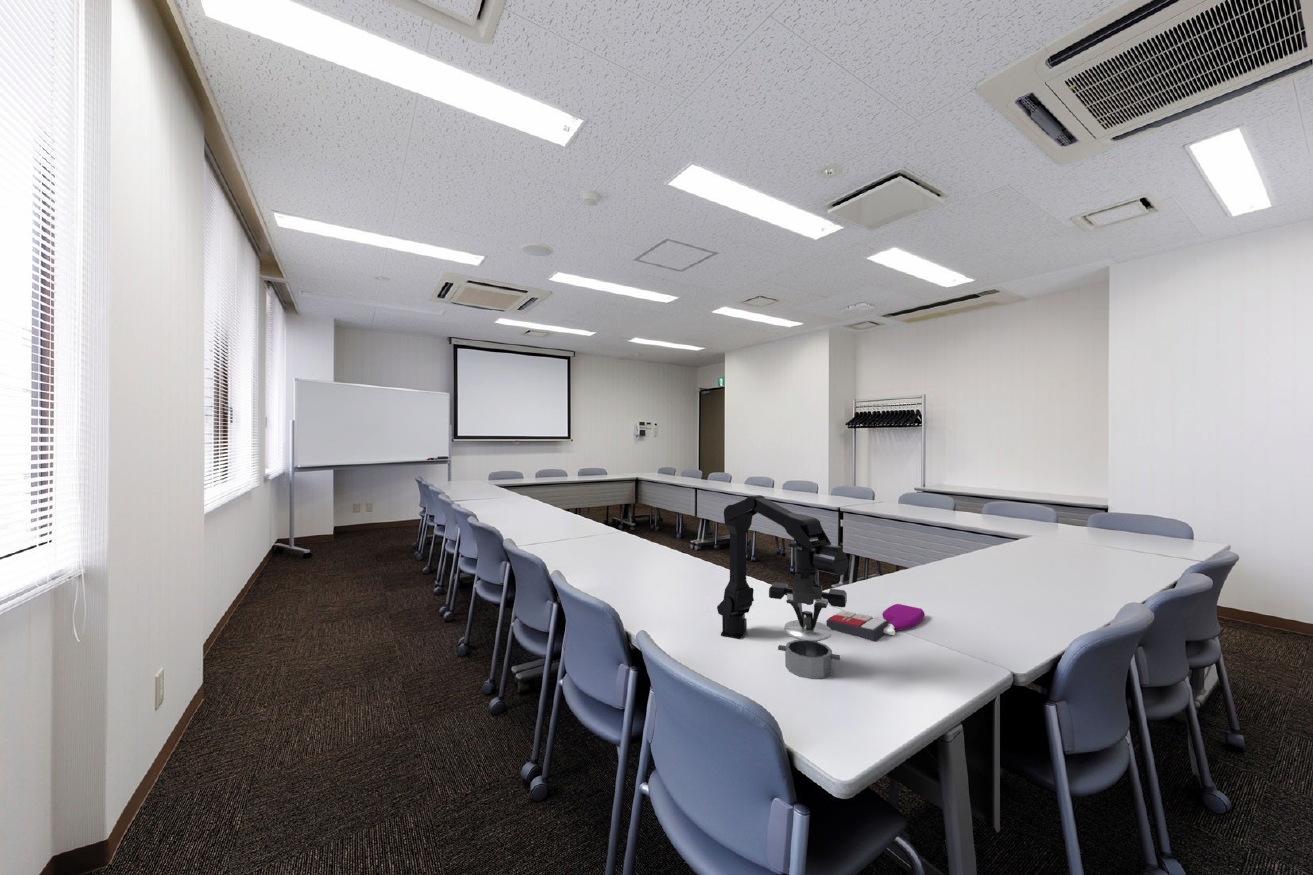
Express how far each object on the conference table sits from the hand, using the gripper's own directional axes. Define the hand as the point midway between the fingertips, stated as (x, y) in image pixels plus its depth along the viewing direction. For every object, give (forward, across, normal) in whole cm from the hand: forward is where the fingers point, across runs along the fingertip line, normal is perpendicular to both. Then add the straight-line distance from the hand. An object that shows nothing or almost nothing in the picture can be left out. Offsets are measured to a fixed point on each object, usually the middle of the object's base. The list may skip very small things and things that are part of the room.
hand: (807, 627), depth 124 cm
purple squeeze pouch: (+11, +21, +43) cm, 49 cm away
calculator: (+11, +10, +33) cm, 36 cm away
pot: (+10, 0, 0) cm, 10 cm away
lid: (+2, 0, 0) cm, 2 cm away
